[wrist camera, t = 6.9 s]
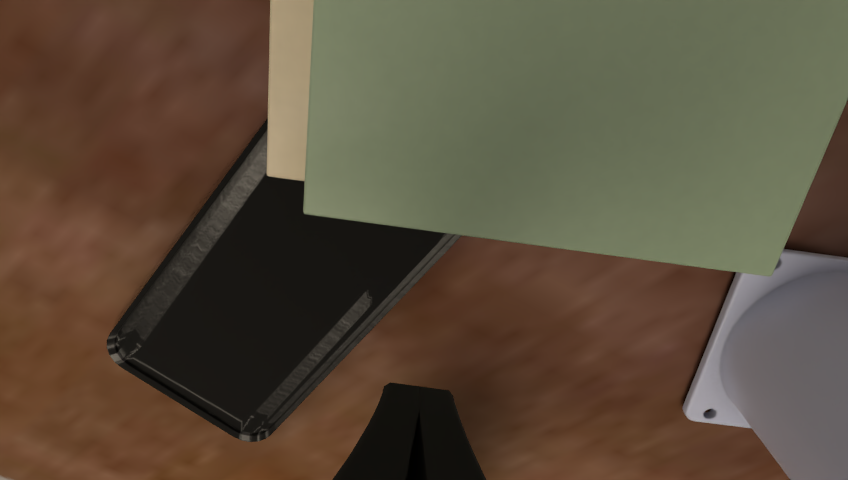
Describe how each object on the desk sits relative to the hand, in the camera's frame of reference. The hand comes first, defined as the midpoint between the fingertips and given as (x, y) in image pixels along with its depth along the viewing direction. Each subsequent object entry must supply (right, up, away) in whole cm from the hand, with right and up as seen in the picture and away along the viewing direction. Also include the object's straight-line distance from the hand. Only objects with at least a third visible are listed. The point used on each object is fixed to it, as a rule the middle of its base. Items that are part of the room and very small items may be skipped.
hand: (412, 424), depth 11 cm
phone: (-5, +3, +11) cm, 12 cm away
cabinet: (+4, +11, +6) cm, 14 cm away
